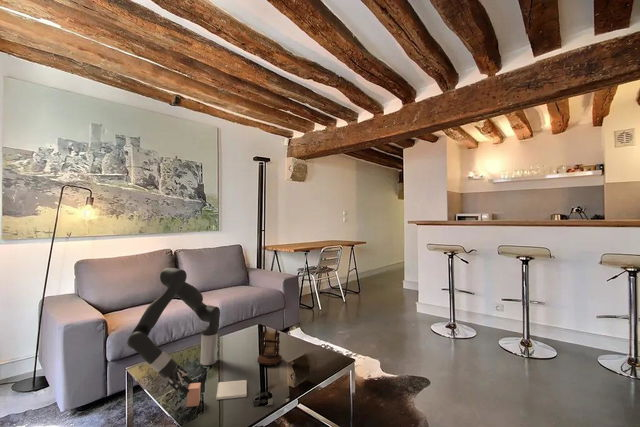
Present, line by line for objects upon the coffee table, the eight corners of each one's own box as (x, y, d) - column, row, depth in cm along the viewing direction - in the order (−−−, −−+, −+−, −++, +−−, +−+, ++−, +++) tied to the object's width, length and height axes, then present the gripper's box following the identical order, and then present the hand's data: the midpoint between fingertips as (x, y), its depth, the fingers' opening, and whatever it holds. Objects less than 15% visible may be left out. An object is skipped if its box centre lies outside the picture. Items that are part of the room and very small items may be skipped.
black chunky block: (250, 410, 142) (250, 399, 142) (249, 401, 149) (250, 391, 149) (277, 406, 145) (278, 396, 145) (275, 398, 152) (276, 388, 152)
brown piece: (284, 357, 196) (285, 325, 197) (278, 368, 181) (279, 333, 182) (261, 356, 198) (262, 324, 198) (254, 366, 183) (255, 332, 184)
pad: (218, 384, 162) (218, 382, 162) (246, 382, 165) (246, 379, 165) (216, 399, 148) (216, 397, 148) (246, 396, 151) (246, 394, 151)
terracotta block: (188, 400, 146) (189, 383, 147) (200, 399, 148) (200, 382, 148) (186, 406, 142) (187, 389, 142) (198, 405, 143) (199, 388, 143)
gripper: (166, 365, 136) (193, 389, 138) (173, 351, 150) (198, 374, 152) (152, 378, 134) (179, 402, 137) (161, 363, 148) (185, 386, 151)
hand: (189, 387), depth 144 cm, fingers open, 8 cm apart
